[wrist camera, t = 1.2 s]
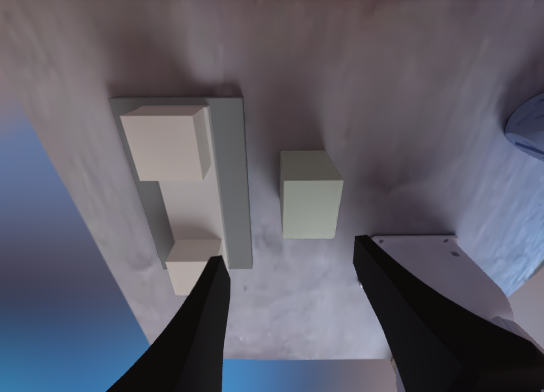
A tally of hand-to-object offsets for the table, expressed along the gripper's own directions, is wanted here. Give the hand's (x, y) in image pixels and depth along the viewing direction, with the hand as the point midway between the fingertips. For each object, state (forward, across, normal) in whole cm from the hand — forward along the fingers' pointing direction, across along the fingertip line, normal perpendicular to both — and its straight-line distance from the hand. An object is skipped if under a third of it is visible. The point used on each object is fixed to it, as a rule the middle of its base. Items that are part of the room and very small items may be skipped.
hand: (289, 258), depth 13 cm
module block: (+11, -2, +1) cm, 11 cm away
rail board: (+11, +8, +2) cm, 14 cm away
